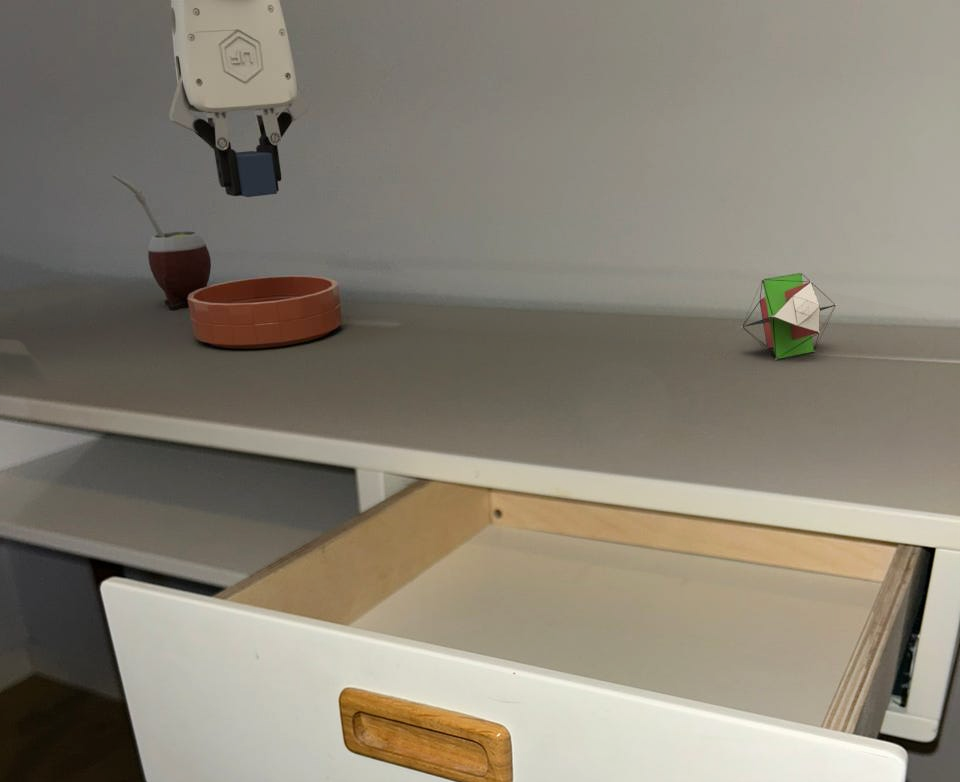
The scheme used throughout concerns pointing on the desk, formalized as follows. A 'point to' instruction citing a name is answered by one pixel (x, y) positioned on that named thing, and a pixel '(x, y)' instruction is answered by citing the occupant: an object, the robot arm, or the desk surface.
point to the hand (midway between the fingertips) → (252, 190)
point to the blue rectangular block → (256, 173)
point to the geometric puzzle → (789, 315)
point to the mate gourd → (175, 259)
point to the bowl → (265, 311)
